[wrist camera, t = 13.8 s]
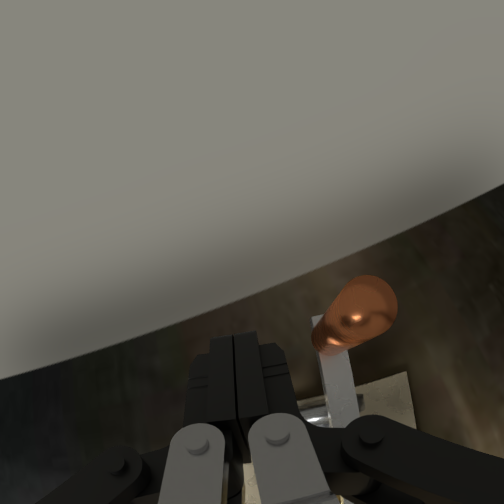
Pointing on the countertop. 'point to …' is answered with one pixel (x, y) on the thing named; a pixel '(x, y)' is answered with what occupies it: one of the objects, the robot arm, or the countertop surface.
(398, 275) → the countertop surface
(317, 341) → the valve lever
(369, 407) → the valve
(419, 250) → the countertop surface
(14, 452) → the countertop surface
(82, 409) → the countertop surface
